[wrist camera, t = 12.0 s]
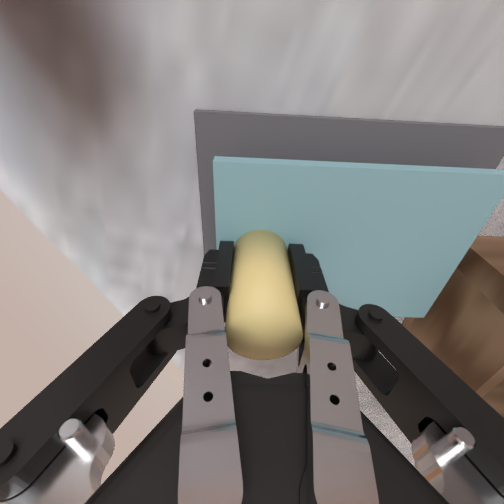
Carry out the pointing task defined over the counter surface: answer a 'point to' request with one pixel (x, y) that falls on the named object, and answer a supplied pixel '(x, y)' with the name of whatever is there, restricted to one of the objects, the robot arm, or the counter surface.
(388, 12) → the counter surface
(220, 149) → the mat
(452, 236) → the thin pale-blue panel
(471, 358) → the box
